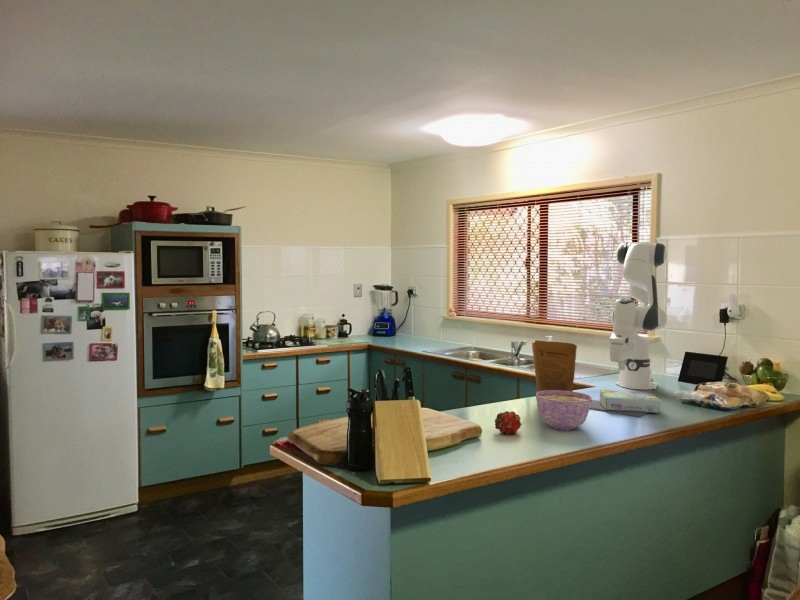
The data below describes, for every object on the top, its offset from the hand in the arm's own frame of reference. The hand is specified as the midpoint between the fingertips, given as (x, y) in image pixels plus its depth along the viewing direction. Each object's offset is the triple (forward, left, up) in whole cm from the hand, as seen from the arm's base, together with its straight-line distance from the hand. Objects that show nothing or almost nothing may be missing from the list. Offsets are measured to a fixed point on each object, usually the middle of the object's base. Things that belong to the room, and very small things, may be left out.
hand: (621, 369), depth 280 cm
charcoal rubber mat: (+8, 0, -15) cm, 17 cm away
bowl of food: (+52, -4, -15) cm, 55 cm away
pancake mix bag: (+28, -18, -15) cm, 37 cm away
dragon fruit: (+73, -15, -15) cm, 76 cm away
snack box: (-1, +2, -12) cm, 12 cm away
